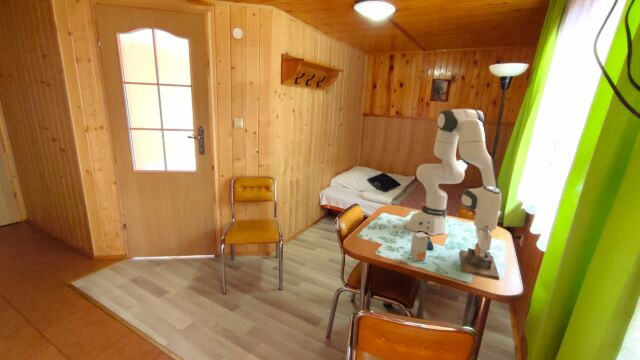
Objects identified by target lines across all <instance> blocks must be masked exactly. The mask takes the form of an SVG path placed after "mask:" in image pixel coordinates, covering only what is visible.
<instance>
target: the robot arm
mask: <svg viewBox="0 0 640 360" xmlns="http://www.w3.org/2000/svg"><path fill="white" fill-rule="evenodd" d="M484 122H485V117H484V113H483V112H482V111H481V110H479V109H475V108H472V109H469V108H457V109H445V110H441V112H439V113H438V116H437V118H436V125H437V128H438V129H437V133H436V136H435V142H434V148H433V155H434V156H435V157H436V158H438V159H440V160H442V162H441V163H424V164H420V165H419V166H417V168H416V174H415V175H416V178H417V180H418V181H419V182H420V183H421V184H422V185H423V187H424V188H425V192H426V193H425V194H426V196H425V198H426V199H425V203H421V205H420V207H421V209H420V210H419V211H417V212H414V213H413V214H412V215H411V217H410V220H407V221H406V222H405V228H406V229H407V230H409V231H413V232H416V233H419V232H418V231H425V232H427V233H428V234H427V235H428V236H436V235H442V234H445V233H447V231H446V225H445V224H446V217H447V211H448V210H447V205H448V204H447V202H448V194H447V192H446V191H444V190H443V189H441V188H439V185H440V184H441V185H455V184H460V183H462V182H463V180H464V179H465V173H466V172H465V170H464V168H463V167H462V166H461V165H460V164H459V162H458V160H457V155H456V154H457V148H458V153H459V156H460V158H462V159H463V160H464V161H466V162H467V163H469V164H472V165H473V166H475V167H477V168H478V169H479V171H480V173H481V177H482V178H481V179H482V184H483V185H482V186H481V187H476V188H468V189H465V190H463V191H462V193H461V195H460V203H461V205H462V207H463V208H465V209H467V210H471V211H475V215H474V221H473V225H474V226H475V234H476V235H475V236H476V238H477V243H476V244H479V247H480V252H479V255H480V256H482V257H484V254H485V252H486V251H487V252H490V249H491V244H492V236H493V235H492V232H493V231H495V230H496V229H497V225H498V221H499V220H498V219H499V212H500V210H501V206H502V202H503V201H502V200H503V196H502V191H501V190H500V189H499V184H498V178H497V174H496V169H495V164H494V160H493V158H492V156H491V155H490V154H489V152H488V149H487V146H486V137H485V136H486V135H485V130H484V126H483V125H484Z"/></svg>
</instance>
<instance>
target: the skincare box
mask: <svg viewBox="0 0 640 360" xmlns="http://www.w3.org/2000/svg"><path fill="white" fill-rule="evenodd" d="M429 237H430V235H429V234H425V233H423V232H416V233H412V239H411V247H410V251H409V252H410V253H409V257H410V256H411V257H412V258H413V260H414V259H415V260H417V261H421V260H425V259H426V257H427V250H428V242H429ZM411 257H410V258H411ZM412 258H411V259H412ZM420 259H421V260H420ZM415 260H414V261H415Z"/></svg>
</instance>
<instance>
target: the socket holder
mask: <svg viewBox="0 0 640 360" xmlns="http://www.w3.org/2000/svg"><path fill="white" fill-rule="evenodd" d="M474 251H475V248H471V247H469V248H467V250H463V249H460V252H459V253H460V262H461V263H460V264H461V272H462V271H463V272H464V273H467V272H468V273H467V274H471V273H472V275H476V276H481V277H486V278H491V279H496V280H500V274H499V271H498V268H497V265H496V263H495V259H494V256H493V255H491V252H490V251H486V255H485V258H482V257H477V256H474Z"/></svg>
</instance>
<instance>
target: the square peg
mask: <svg viewBox="0 0 640 360" xmlns="http://www.w3.org/2000/svg"><path fill="white" fill-rule="evenodd" d="M474 245H475V246H474V249H475V251H474V256H477V257H482V256H480V255H479V252H480V247H479V244H477V243H475V244H474ZM485 255H486V252H485V254H484V257H482V258H485Z"/></svg>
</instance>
